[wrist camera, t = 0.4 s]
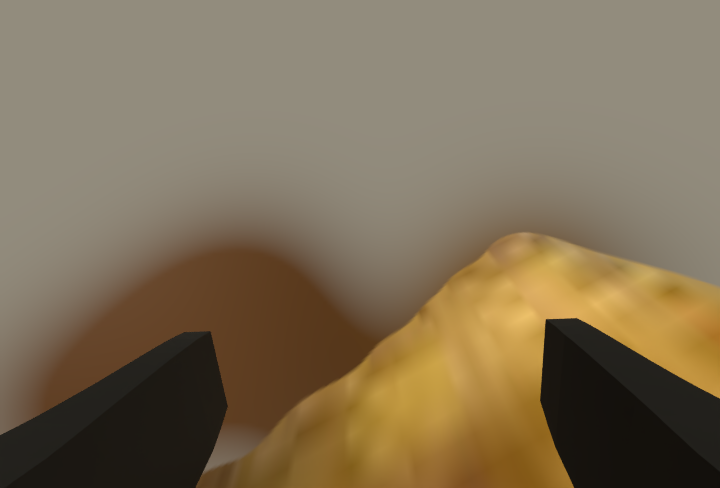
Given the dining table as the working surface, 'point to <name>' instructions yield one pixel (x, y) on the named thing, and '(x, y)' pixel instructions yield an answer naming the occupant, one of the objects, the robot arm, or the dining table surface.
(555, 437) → the robot arm
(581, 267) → the dining table surface
